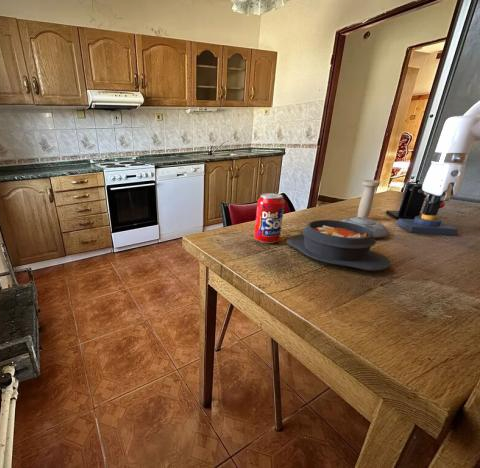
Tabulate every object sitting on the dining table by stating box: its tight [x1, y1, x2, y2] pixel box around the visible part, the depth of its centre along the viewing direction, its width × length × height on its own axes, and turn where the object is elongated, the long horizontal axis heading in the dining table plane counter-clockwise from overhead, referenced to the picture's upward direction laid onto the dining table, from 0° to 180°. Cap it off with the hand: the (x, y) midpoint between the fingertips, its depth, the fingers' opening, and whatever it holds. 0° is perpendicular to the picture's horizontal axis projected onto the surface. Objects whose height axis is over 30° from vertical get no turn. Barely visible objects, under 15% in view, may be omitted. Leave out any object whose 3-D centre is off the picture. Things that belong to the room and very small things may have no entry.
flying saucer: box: [340, 216, 390, 239], centre depth 87 cm, size 15×15×6 cm
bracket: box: [385, 183, 426, 221], centre depth 100 cm, size 11×9×13 cm
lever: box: [409, 185, 446, 209], centre depth 98 cm, size 13×3×3 cm
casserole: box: [286, 219, 392, 272], centre depth 71 cm, size 25×19×8 cm
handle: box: [356, 179, 381, 218], centre depth 98 cm, size 5×6×15 cm
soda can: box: [253, 192, 286, 245], centre depth 81 cm, size 8×8×15 cm
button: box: [421, 213, 438, 220], centre depth 87 cm, size 4×4×2 cm
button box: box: [396, 216, 459, 236], centre depth 88 cm, size 12×9×4 cm
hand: (429, 214), depth 87 cm, fingers closed
